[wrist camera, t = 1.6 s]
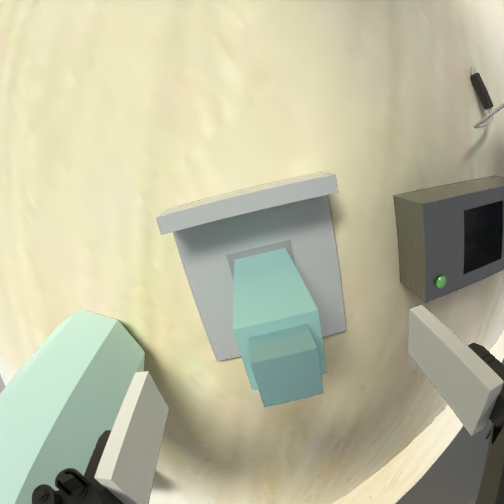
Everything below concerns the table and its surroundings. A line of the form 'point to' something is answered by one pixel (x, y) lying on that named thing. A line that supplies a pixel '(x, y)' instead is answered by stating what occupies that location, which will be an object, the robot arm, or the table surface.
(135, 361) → the water bottle
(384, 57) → the table surface
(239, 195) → the grey lipped plate
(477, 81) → the clip-on lamp
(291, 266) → the plug
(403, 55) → the table surface
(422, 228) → the port
